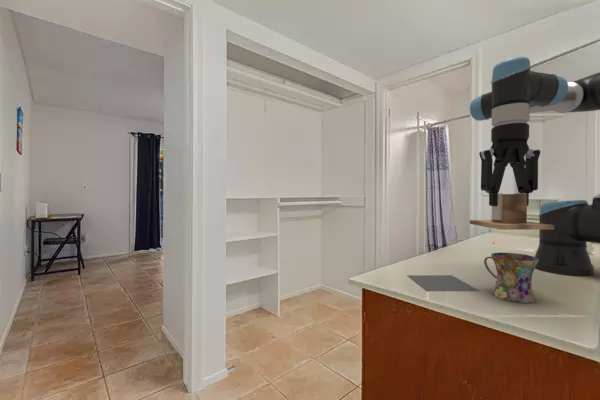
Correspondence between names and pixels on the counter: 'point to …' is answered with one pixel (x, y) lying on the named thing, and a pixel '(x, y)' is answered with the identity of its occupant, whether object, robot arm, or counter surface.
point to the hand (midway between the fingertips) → (508, 219)
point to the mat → (441, 283)
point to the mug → (513, 276)
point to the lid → (512, 215)
